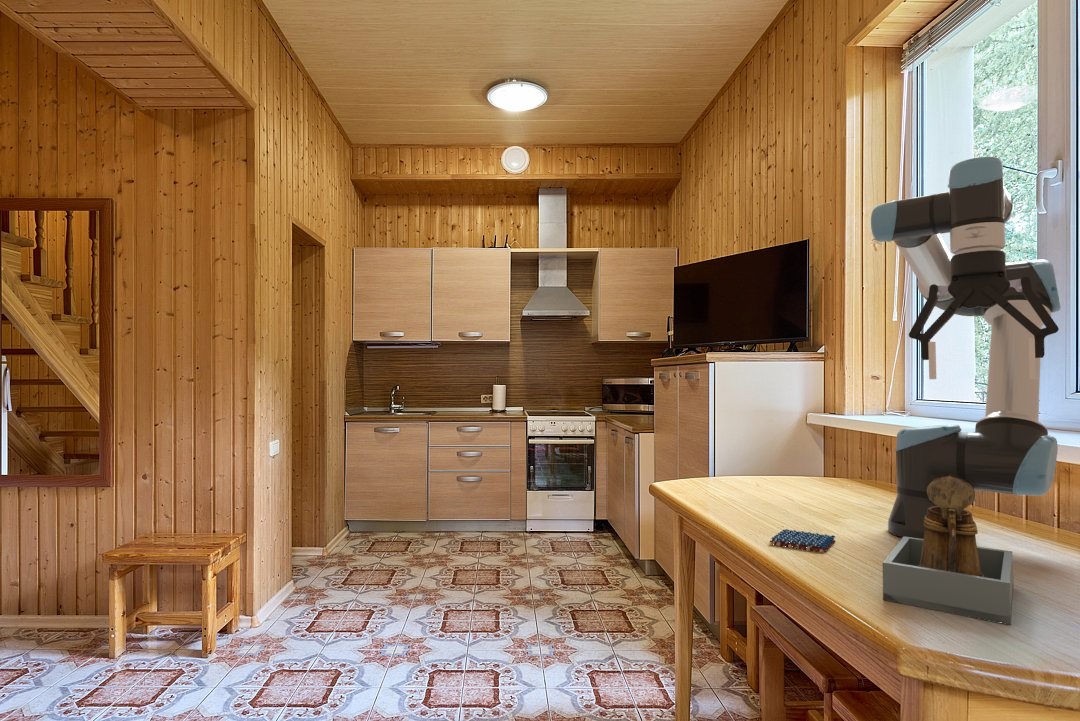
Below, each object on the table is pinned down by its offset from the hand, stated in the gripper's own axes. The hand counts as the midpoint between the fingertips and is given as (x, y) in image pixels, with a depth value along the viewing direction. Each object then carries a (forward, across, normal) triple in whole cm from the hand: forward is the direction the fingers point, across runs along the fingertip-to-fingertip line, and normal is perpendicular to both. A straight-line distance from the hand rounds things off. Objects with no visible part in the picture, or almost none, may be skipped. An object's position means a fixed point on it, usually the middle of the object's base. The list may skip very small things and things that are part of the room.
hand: (980, 379), depth 103 cm
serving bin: (+32, -4, -14) cm, 35 cm away
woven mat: (+34, -30, +2) cm, 45 cm away
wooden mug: (+32, -4, -13) cm, 35 cm away
